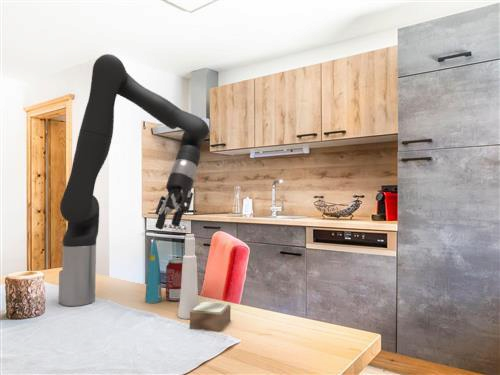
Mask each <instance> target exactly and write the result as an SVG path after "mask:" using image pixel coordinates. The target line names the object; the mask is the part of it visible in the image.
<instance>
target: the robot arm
mask: <svg viewBox="0 0 500 375" xmlns="http://www.w3.org/2000/svg"><path fill="white" fill-rule="evenodd" d="M91 73H92V74H91V83H90V90H89V96H88V100H87V104H86V107H85V110H84V114H83V118H82V121H81V124H80V129H79V131H78V132H79V133H78V136H77V140H76V147H75V153H74V155H73V156H74V157H73V159H72V161H73V162H72V165H71V171H70V175H69V179H68V182H67V184H66V187H65V189H64V192H63V196H62V198H61V201H60V203H59V205H60V206H59V210H60V215H61V216H62V218H63V219H64V220H65V221H66V222H67V227H66V231H65V233H64V235H63V237H62V260H61V262H62V263H61V264H62V265H61V266H62V267H61V270H59V272H58V301H57V302H58V304H61V305H63V306H67V307H77V306H84V305H89V304H91V303H94V302H95V301H96V272H97V271H96V270H97V268H96V266H97V263H96V262H97V237H98V236H99V235H98V234H99V227H100V225H99V224H100V205H99V204H100V203H99V200H98V199H97V197H95V195H94V193H95V192H94V191H95V185H96V182H97V181H96V180H97V178H98V176H99V173H100V171H101V169H102V168H103V166H104V164H105V162H106V160H107V157H108V155H109V151H110V149H111V144H112V140H113V134H114V124H115V123H114V122H115V103H116V99H117V95H118V96H121V97H122V98H124V99H126V100H128V101H129V102H132V103H133V104H134V105H136V106H137V107H139V108H140V109H142V110H143V111H145V112H146V113H147V114H148V115H150V116H152V117H153V118H155V119H156V120H157V121H159V123H161V124H163V125H164V126H166V127H167V128H169V129H171V130H175V129H176V128H178V129H180V130H183V133H182V137H181V141H180V144H179V149H178V151H177V155H176V158H175V161H174V163H173V165H172V167H171V169H170V170H171V171H170V173H169V176H168V179H167V181H166V184H165V188H166V190H167V192H168V193H167V195H166V196H163V195H162V196H161V197H160V199H159V202H158V204H157V207H156V210H155V215H157V216H158V217H157V218H156V219H157V220H156V223H155V228H156V229H158V230H162V229H164V225H165V223H166V219H167V217H168V215H169V214H171V213H172V212H173V210H175V211H174V213H173V217H172V219H171V225H172V226H174V227H179V226H180V224H181V220H182V217H183V215H185V213H189V211H190V208H191V203H192V200H193V194H194V193H193V192H192V189H193V186H194V182H195V180H196V175H197V170H198V166H199V163H200V158H201V148H202V146H203V143H204V142H205V141H206V139H207V137H208V136H209V134H210V128H209V125H208V124H207V122H206V121H205V120H204V119H202V118H201V117H200V116H198V115H195V114H192V113H190V112H188V111H185V110H182V109H181V108H179V107H178V106H177V105H175V104H174V103H172V102H170V101H169V100H168V99H166V98H165V97H164V96H162V95H159V94H158V93H156V92H153V91H152V90H150V89H148V88H146V87H145V86H143V85H141V84H140V83H139V82H138V81H137V80H136V79H134V78H133V77H132V76H131V75H130V74H129V73H128V72H127V70H126V68H125V65H124V64H123V61H122V60H121V59H120V58H118V56H116V55H115V54H111V53H110V54H109V53H107V54H102V55H100V56H98V58H96V60H95V61H94V64H93V66H92V72H91Z"/></svg>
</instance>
